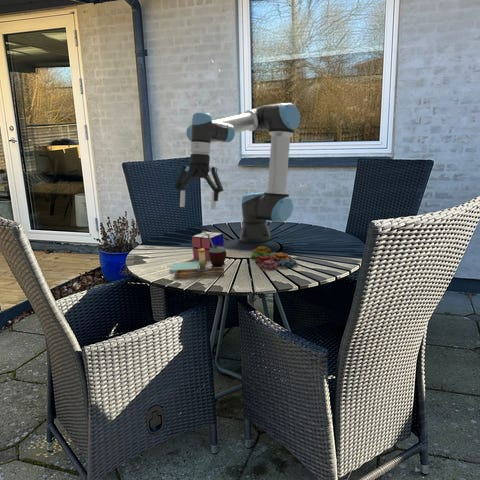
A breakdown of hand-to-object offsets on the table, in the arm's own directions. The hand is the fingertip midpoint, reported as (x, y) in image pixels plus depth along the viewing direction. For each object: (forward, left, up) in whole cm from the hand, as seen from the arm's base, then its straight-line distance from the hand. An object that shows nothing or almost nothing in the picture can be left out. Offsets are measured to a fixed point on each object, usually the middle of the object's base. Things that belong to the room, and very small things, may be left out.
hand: (197, 208), depth 180 cm
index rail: (0, +11, -24) cm, 27 cm away
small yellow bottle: (-1, +11, -23) cm, 26 cm away
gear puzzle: (-29, -6, -25) cm, 39 cm away
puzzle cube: (-2, -15, -25) cm, 29 cm away
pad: (+7, +1, -24) cm, 25 cm away
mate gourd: (-6, 0, -25) cm, 25 cm away
